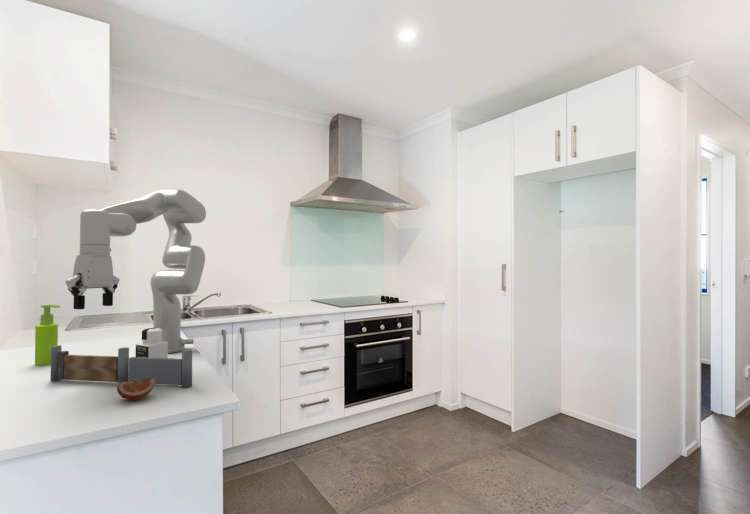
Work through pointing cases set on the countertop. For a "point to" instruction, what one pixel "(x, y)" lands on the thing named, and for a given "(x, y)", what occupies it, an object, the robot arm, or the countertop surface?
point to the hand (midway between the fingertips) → (93, 307)
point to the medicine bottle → (152, 344)
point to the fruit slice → (135, 388)
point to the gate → (87, 367)
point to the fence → (143, 368)
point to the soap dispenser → (45, 337)
